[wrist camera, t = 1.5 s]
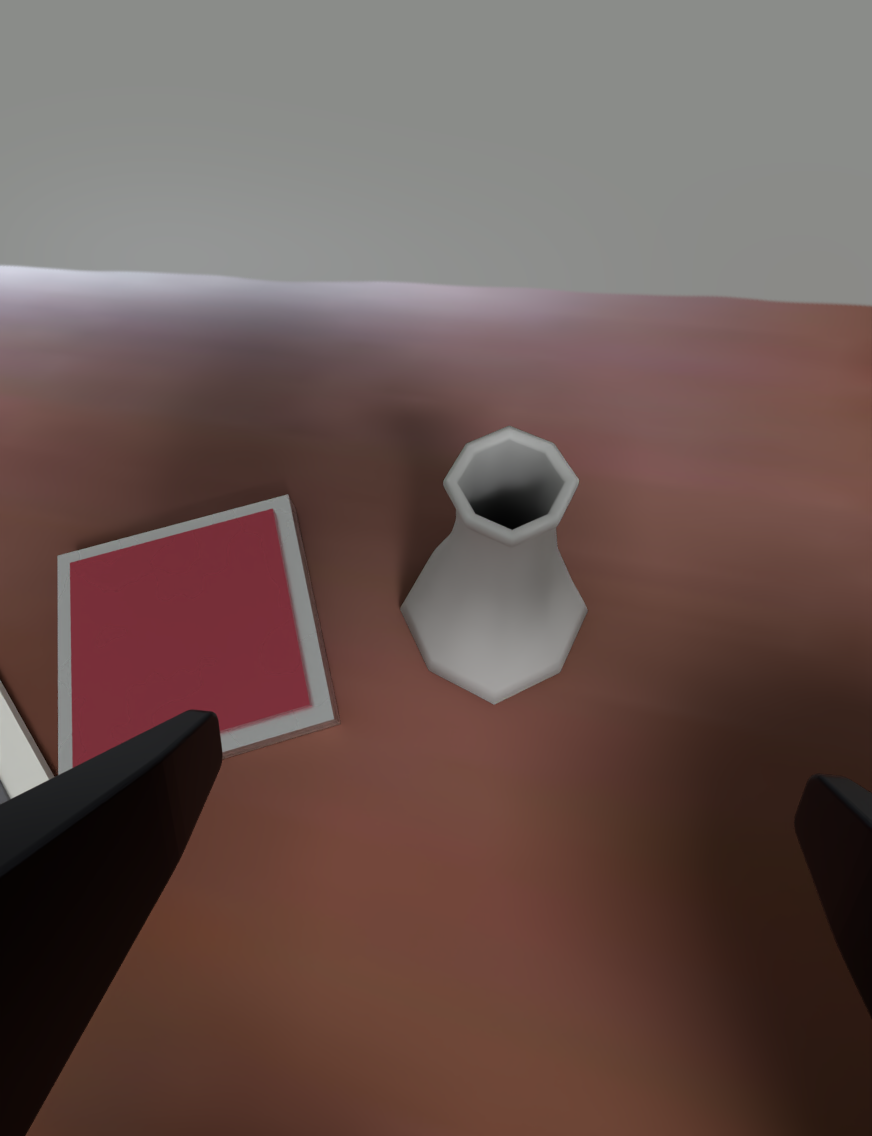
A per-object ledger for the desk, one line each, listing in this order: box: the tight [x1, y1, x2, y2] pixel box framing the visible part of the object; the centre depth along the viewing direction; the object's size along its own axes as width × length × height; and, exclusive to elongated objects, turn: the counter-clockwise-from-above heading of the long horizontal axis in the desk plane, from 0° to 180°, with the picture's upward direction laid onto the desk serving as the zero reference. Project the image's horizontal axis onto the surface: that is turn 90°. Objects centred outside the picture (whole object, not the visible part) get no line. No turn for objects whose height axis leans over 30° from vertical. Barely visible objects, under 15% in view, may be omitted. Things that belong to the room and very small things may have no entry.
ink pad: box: [58, 494, 341, 775], centre depth 22 cm, size 10×10×2 cm
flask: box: [400, 426, 588, 705], centre depth 18 cm, size 7×7×10 cm
